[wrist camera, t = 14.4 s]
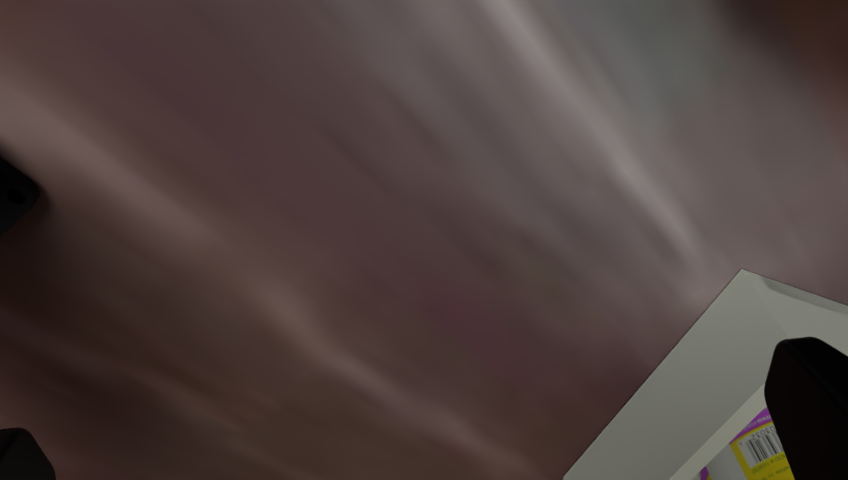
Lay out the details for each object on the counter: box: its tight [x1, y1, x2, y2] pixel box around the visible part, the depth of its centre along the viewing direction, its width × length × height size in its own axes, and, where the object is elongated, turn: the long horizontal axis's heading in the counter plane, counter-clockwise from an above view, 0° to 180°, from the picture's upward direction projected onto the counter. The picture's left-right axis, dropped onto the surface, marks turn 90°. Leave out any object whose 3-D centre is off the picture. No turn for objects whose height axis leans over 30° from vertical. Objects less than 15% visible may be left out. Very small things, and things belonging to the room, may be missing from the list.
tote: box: [563, 269, 848, 480], centre depth 28 cm, size 13×13×4 cm
